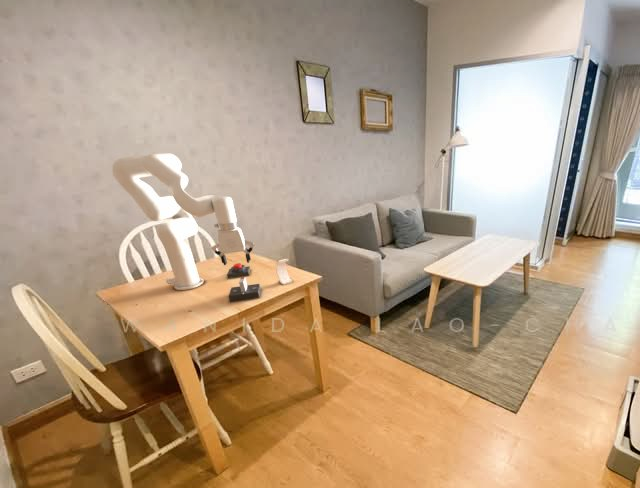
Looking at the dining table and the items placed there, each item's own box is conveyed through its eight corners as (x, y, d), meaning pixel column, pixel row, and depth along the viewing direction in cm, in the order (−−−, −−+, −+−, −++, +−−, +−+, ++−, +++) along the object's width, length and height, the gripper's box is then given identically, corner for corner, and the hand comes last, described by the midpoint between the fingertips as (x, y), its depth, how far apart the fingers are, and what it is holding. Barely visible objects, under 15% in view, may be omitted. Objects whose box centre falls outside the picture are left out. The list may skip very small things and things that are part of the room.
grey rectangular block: (245, 291, 146) (243, 281, 144) (241, 292, 145) (238, 282, 143) (247, 286, 151) (244, 276, 148) (243, 287, 150) (240, 277, 148)
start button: (233, 269, 168) (232, 266, 168) (234, 266, 172) (234, 263, 171) (241, 268, 169) (240, 265, 169) (242, 266, 173) (241, 262, 172)
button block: (228, 278, 167) (226, 271, 166) (230, 272, 174) (228, 265, 173) (249, 275, 170) (247, 268, 168) (250, 270, 177) (249, 263, 175)
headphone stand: (283, 284, 159) (278, 261, 154) (278, 280, 163) (273, 258, 158) (292, 282, 162) (288, 259, 156) (287, 278, 166) (283, 255, 161)
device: (229, 302, 144) (228, 296, 142) (233, 292, 152) (231, 286, 151) (259, 298, 147) (257, 291, 145) (260, 289, 155) (259, 283, 154)
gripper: (203, 230, 136) (214, 268, 144) (248, 226, 141) (256, 263, 148) (208, 225, 143) (218, 262, 150) (250, 222, 147) (258, 258, 155)
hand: (237, 262), depth 149 cm, fingers open, 9 cm apart
